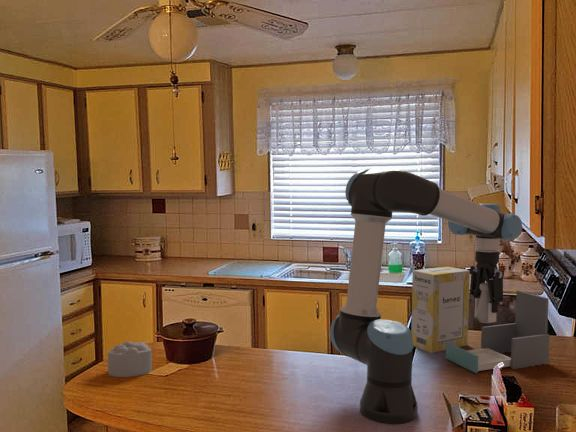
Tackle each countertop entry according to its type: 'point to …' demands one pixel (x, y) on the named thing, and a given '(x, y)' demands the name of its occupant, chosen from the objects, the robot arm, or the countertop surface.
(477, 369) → the tray
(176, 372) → the countertop surface
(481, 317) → the salt shaker
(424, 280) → the pasta box
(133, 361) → the lumpy-topped squat cylinder
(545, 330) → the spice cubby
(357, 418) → the countertop surface
